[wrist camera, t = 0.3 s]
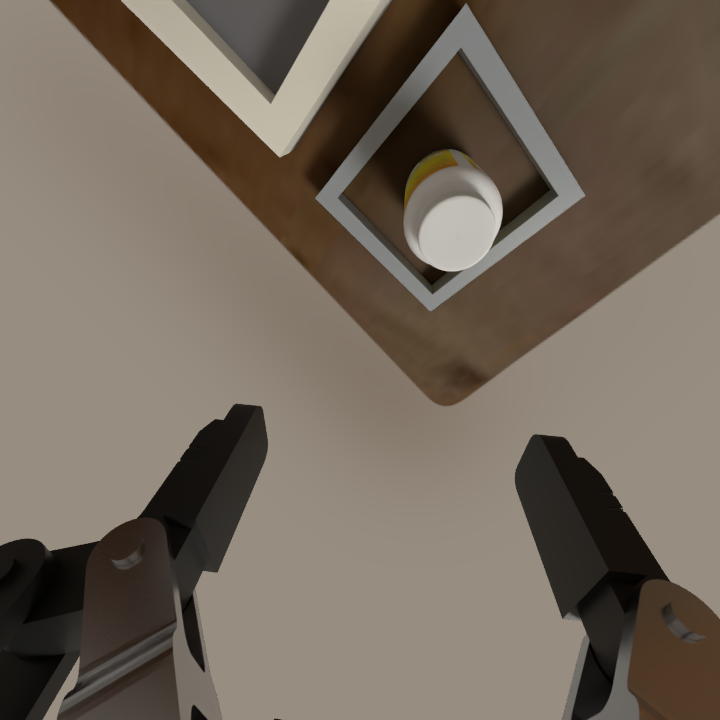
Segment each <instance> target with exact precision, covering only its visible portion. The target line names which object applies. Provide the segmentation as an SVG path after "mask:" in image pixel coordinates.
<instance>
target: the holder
mask: <svg viewBox="0 0 720 720" xmlns="http://www.w3.org/2000/svg"><path fill="white" fill-rule="evenodd" d="M121 1H122V2H123V3H124V4H125V5H126V6H127V7H128V8H129V9H130V10H131V11H132V12H133V13H134V14H135V15H136V16H137V17H138V18H139V19H140V20H141V21H142V22H143V23H144V24H145V25H146V26H147V27H148V28H149V29H150V30H151V31H152V32H153V33H154V34H155V35H156V36H157V37H159V38H160V39H161V40H162V41H163V42H164V43H165V44H166V45H167V46H168V47H169V48H170V49H171V50H172V51H173V52H174V53H175V54H176V55H177V56H178V57H179V58H180V59H181V60H182V61H183V62H184V63H185V64H186V65H187V66H188V67H189V68H190V69H191V70H192V71H193V72H194V73H195V74H196V75H197V76H198V77H199V78H200V79H201V80H202V81H203V82H204V83H205V84H206V85H207V86H208V87H209V88H210V89H211V90H212V91H213V92H214V93H215V94H216V95H217V96H218V97H219V98H220V99H221V100H222V101H223V102H224V103H225V104H226V105H227V106H228V107H229V108H230V109H231V110H232V111H233V112H234V113H235V114H236V115H237V116H238V117H239V118H240V119H241V120H242V121H243V122H244V123H245V124H246V125H247V126H248V127H249V128H250V129H251V130H252V131H253V132H254V133H255V134H256V135H257V136H258V137H259V138H260V139H261V140H262V141H263V142H265V143H266V144H267V145H268V146H269V147H270V148H271V149H272V150H273V151H274V152H275V153H276V154H277V155H278V156H279V157H281V156H284V155H286V154H288V153H290V152H292V151H293V149H294V148H295V146H296V145H297V143H298V142H299V140H300V139H301V137H302V136H303V134H304V133H305V131H306V130H307V128H308V127H309V125H310V124H311V122H312V121H313V119H314V118H315V116H316V114H317V113H318V111H319V110H320V108H321V107H322V105H323V104H324V102H325V101H326V99H327V98H328V96H329V95H330V93H331V92H332V90H333V89H334V87H335V86H336V84H337V83H338V81H339V80H340V78H341V77H342V75H343V74H344V72H345V71H346V69H347V68H348V66H349V64H350V63H351V61H352V60H353V58H354V57H355V55H356V54H357V52H358V51H359V49H360V48H361V46H362V45H363V43H364V42H365V40H366V39H367V37H368V36H369V34H370V33H371V31H372V30H373V28H374V27H375V25H376V24H377V22H378V21H379V19H380V18H381V16H382V14H383V13H384V11H385V10H386V8H387V7H388V5H389V4H390V2H391V1H392V0H121Z"/></svg>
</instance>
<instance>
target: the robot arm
mask: <svg viewBox="0 0 720 720" xmlns="http://www.w3.org/2000/svg"><path fill="white" fill-rule="evenodd" d="M267 449H268V439H267V433H266V426H265V420H264V414H263V409H262V407H261V406H253V405H244V404H235V405H233V407H232V408H231V410H230V411H229V413H228V414H227V416H226V417H225V419H224V420H218V419H215V420H214V421H212V422H211V423H210V424H208V425H207V426H206V427H204V428H203V429H202V430H200V431H199V433H198V434H197V436H196V437H195V439H194V440H193V442H192V443H191V444H190V446H189V449H187V450H186V451H185V453H184V454H183V455H182V457H181V458H180V459H181V460H180V462H178V463H177V464H176V466H175V467H174V468H173V470H172V471H171V473H170V474H169V476H168V477H167V478H166V480H165V481H164V483H163V484H162V486H161V487H160V488H159V490H158V491H157V492H156V494H155V495H154V497H153V498H152V500H151V501H150V502H149V504H148V505H147V507H146V508H145V510H144V511H143V512H142V513H141V515H140V516H139V517H138V518H137V519H134V520H131V521H128V522H125V523H123V524H121V525H119V526H118V527H116V528H114V529H113V530H112V531H110V532H109V533H108V534H107V535H106V536H104V537H103V538H102V539H101V541H97V542H93V543H88V544H84V545H78V546H74V547H68V548H63V549H58V550H53V551H49V550H48V549H47V548H46V547H45V546H44V545H43V544H42V543H41V542H40V541H38V540H35V539H20V540H15V541H12V542H9V543H6V544H4V545H2V546H0V720H42V719H43V718H44V716H45V714H46V713H47V711H48V709H49V707H50V706H51V704H52V702H53V701H54V699H55V697H56V695H57V693H58V692H59V690H60V689H61V687H62V685H63V683H64V682H65V680H66V678H67V676H68V675H69V673H70V671H71V670H72V668H73V666H74V664H75V663H76V661H77V659H78V657H79V656H80V664H79V675H78V679H77V683H76V686H75V687H74V689H73V690H71V691H70V692H69V693H67V695H66V696H65V697H64V699H63V701H62V704H61V706H60V709H59V713H58V716H57V720H222V715H221V711H220V706H219V702H218V698H217V694H216V691H215V688H214V685H213V682H212V678H211V674H210V669H209V664H208V658H207V653H206V647H205V641H204V636H203V630H202V624H201V619H200V613H199V607H198V601H197V596H196V590H195V586H196V584H197V582H198V580H199V578H200V576H201V574H202V571H209V572H218V570H219V567H220V565H221V563H222V560H223V558H224V556H225V553H226V551H227V549H228V546H229V544H230V542H231V539H232V537H233V535H234V532H235V530H236V528H237V525H238V523H239V520H240V518H241V516H242V513H243V511H244V509H245V506H246V504H247V502H248V499H249V497H250V495H251V492H252V490H253V488H254V485H255V483H256V480H257V478H258V476H259V473H260V471H261V468H262V466H263V464H264V461H265V458H266V454H267ZM515 485H516V489H517V492H518V495H519V498H520V501H521V503H522V506H523V509H524V512H525V515H526V518H527V520H528V523H529V526H530V529H531V531H532V535H533V537H534V540H535V543H536V546H537V549H538V551H539V554H540V557H541V560H542V563H543V565H544V568H545V571H546V574H547V576H548V579H549V582H550V585H551V588H552V591H553V593H554V596H555V599H556V602H557V605H558V607H559V610H560V613H561V616H562V618H563V619H568V620H576V621H582V623H583V625H584V627H585V630H586V633H587V634H586V635H585V637H584V638H583V641H582V644H581V648H580V652H579V656H578V660H577V664H576V668H575V671H574V675H573V679H572V683H571V686H570V690H569V694H568V698H567V702H566V706H565V710H564V713H563V717H562V720H720V619H719V618H718V616H717V615H716V614H715V613H714V612H713V611H712V610H711V609H710V608H709V607H708V606H707V605H706V604H705V603H704V602H703V601H701V600H700V599H699V598H698V597H696V596H695V595H694V594H692V593H691V592H689V591H688V590H686V589H684V588H682V587H681V586H679V585H677V584H674V583H672V582H670V580H669V579H668V577H667V576H666V575H665V573H664V572H663V570H662V569H661V567H660V565H659V564H658V562H657V561H656V559H655V558H654V556H653V555H652V553H651V551H650V550H649V548H648V546H647V545H646V543H645V542H644V540H643V539H642V537H641V535H639V532H638V531H637V529H636V528H635V526H634V525H633V523H632V521H631V520H630V518H629V517H628V515H627V514H626V512H623V507H622V506H621V504H620V503H619V501H618V499H617V498H616V497H615V496H613V492H612V490H611V489H610V487H609V485H608V484H607V482H606V481H605V479H604V477H603V476H602V474H601V473H599V472H598V471H597V470H596V469H595V468H594V467H593V466H592V465H591V464H590V463H589V462H588V461H587V460H585V458H579V457H577V455H576V454H575V452H574V450H573V449H572V447H571V445H570V444H569V442H568V441H567V440H566V439H565V438H564V437H556V436H547V435H537V434H535V435H533V436H532V437H531V439H530V441H529V443H528V445H527V447H526V449H525V451H524V453H523V455H522V457H521V460H520V462H519V464H518V466H517V468H516V472H515ZM274 720H280V719H274Z"/></svg>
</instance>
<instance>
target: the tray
mask: <svg viewBox="0 0 720 720" xmlns="http://www.w3.org/2000/svg"><path fill="white" fill-rule="evenodd" d="M457 52H459V53H460V55H461V56H462V58H463V59H464V61H465V62H466V64H467V65H468V67H469V68H470V70H471V71H472V73H473V74H474V76H475V77H476V79H477V80H478V82H479V83H480V85H481V86H482V88H483V89H484V91H485V92H486V94H487V95H488V97H489V98H490V100H491V102H492V103H493V105H494V106H495V108H496V109H497V111H498V112H499V114H500V115H501V117H502V118H503V120H504V121H505V123H506V124H507V126H508V127H509V129H510V130H511V132H512V133H513V135H514V136H515V138H516V139H517V141H518V142H519V144H520V145H521V147H522V148H523V150H524V151H525V153H526V154H527V156H528V157H529V159H530V160H531V162H532V163H533V165H534V166H535V168H536V169H537V171H538V172H539V174H540V175H541V177H542V178H543V180H544V181H545V183H546V184H547V186H548V187H549V189H550V191H548V192H547V193H546V194H545V195H543V196H542V197H541V198H540V199H538V200H537V201H536V202H535V203H533V204H532V205H531V206H530V207H528V208H527V209H526V210H525V211H523V212H522V213H521V214H520V215H518V216H517V217H516V218H515V219H513V220H512V221H511V222H510V223H508V224H507V225H506V226H505V227H503V228H502V229H501V230H500V231H498V233H497V235H496V237H495V239H494V241H493V244H492V246H491V248H490V249H489V251H488V252H487V254H486V255H485V256H484V257H483V258H482V259H481V260H480V261H479V262H477V263H476V264H474V265H473V266H471V267H469V268H467V269H464V270H460V271H449V272H447V273H446V274H445V275H444V276H442V277H441V278H440V279H439V280H437V281H436V282H435V283H434V284H432V285H431V284H430V283H429V282H428V281H427V280H426V279H425V278H424V277H423V276H422V275H421V274H420V273H419V272H418V271H417V270H416V269H415V268H414V267H413V266H412V265H411V264H410V263H409V262H408V261H407V260H406V258H405V257H404V256H403V255H402V254H401V253H400V252H399V251H398V250H397V249H396V248H395V247H394V246H393V245H392V244H391V243H390V242H389V241H388V240H387V239H386V238H385V237H384V236H383V235H382V234H381V233H380V232H379V231H378V230H377V229H376V228H375V227H374V226H373V224H372V223H371V222H370V221H369V220H368V219H367V218H366V217H365V216H364V215H363V214H362V213H361V212H360V211H359V210H358V209H357V208H356V207H355V206H354V205H353V204H352V203H351V202H350V201H349V200H348V199H347V198H346V197H345V196H344V195H343V194H342V192H343V191H344V189H345V188H346V187H347V186H348V185H349V183H350V182H351V181H352V180H353V178H354V177H355V176H356V175H357V174H358V172H359V171H360V170H361V169H362V167H363V166H364V165H365V164H366V163H367V161H368V160H369V159H370V158H371V157H372V155H373V154H374V153H375V152H376V150H377V149H378V148H379V147H380V146H381V144H382V143H383V142H384V141H385V139H386V138H387V137H388V136H389V135H390V133H391V132H392V131H393V130H394V128H395V127H396V126H397V125H398V124H399V122H400V121H401V120H402V119H403V117H404V116H405V115H406V114H407V113H408V111H409V110H410V109H411V108H412V107H413V105H414V104H415V103H416V102H417V100H418V99H419V98H420V97H421V96H422V94H423V93H424V92H425V91H426V89H427V88H428V87H429V86H430V85H431V83H432V82H433V81H434V80H435V78H436V77H437V76H438V75H439V74H440V72H441V71H442V70H443V69H444V67H445V66H446V65H447V64H448V63H449V61H450V60H451V59H452V58H453V57H454V55H455V54H456V53H457ZM584 196H585V194H584V193H583V191H582V190H581V188H580V186H579V185H578V183H577V181H576V180H575V178H574V177H573V175H572V173H571V172H570V170H569V169H568V167H567V165H566V164H565V162H564V160H563V159H562V157H561V156H560V154H559V152H558V151H557V149H556V148H555V146H554V144H553V143H552V141H551V139H550V138H549V136H548V135H547V133H546V131H545V130H544V128H543V127H542V125H541V123H540V122H539V120H538V118H537V117H536V115H535V114H534V112H533V110H532V109H531V107H530V106H529V104H528V102H527V101H526V99H525V98H524V96H523V94H522V93H521V91H520V89H519V88H518V86H517V85H516V83H515V81H514V80H513V78H512V77H511V75H510V73H509V72H508V70H507V68H506V67H505V65H504V64H503V62H502V60H501V59H500V57H499V56H498V54H497V52H496V51H495V49H494V47H493V46H492V44H491V43H490V41H489V39H488V38H487V36H486V35H485V33H484V31H483V30H482V28H481V26H480V25H479V23H478V22H477V20H476V18H475V17H474V15H473V14H472V12H471V10H470V9H469V7H468V5H467V4H465V5H464V7H463V8H462V9H461V11H460V12H459V13H458V15H457V16H456V17H455V18H454V20H453V21H452V22H451V24H450V25H449V26H448V27H447V29H446V30H445V31H444V33H443V34H442V35H441V36H440V38H439V39H438V40H437V42H436V43H435V44H434V46H433V47H432V48H431V49H430V51H429V52H428V53H427V55H426V56H425V57H424V58H423V60H422V61H421V62H420V64H419V65H418V66H417V68H416V69H415V70H414V71H413V73H412V74H411V75H410V77H409V78H408V79H407V80H406V82H405V83H404V84H403V86H402V87H401V88H400V89H399V91H398V92H397V93H396V95H395V96H394V97H393V99H392V100H391V101H390V102H389V104H388V105H387V106H386V108H385V109H384V110H383V111H382V113H381V114H380V115H379V117H378V118H377V119H376V120H375V122H374V123H373V124H372V126H371V127H370V128H369V130H368V131H367V132H366V133H365V135H364V136H363V137H362V139H361V140H360V141H359V142H358V144H357V145H356V146H355V148H354V149H353V150H352V152H351V153H350V154H349V155H348V157H347V158H346V159H345V161H344V162H343V163H342V164H341V166H340V167H339V168H338V170H337V171H336V172H335V173H334V175H333V176H332V177H331V179H330V180H329V181H328V183H327V184H326V185H325V186H324V188H323V189H322V190H321V192H320V193H319V194H318V195H317V197H316V198H315V199H316V200H317V201H319V202H320V203H321V204H322V205H323V206H324V207H325V208H326V209H327V210H328V211H329V212H330V213H331V214H332V215H333V216H334V217H335V218H336V219H337V220H338V221H339V222H340V223H341V224H342V225H343V226H344V227H345V228H346V229H347V230H348V231H349V232H350V233H351V234H352V235H353V236H354V237H355V238H356V239H357V240H358V241H359V242H360V243H361V244H362V245H363V246H364V247H365V248H366V249H367V250H368V251H369V252H370V253H371V254H372V255H373V256H374V257H376V258H377V259H378V260H379V261H380V262H381V263H382V264H383V265H384V266H385V267H386V268H387V269H388V270H389V271H390V272H391V273H392V274H393V275H394V276H395V277H396V278H397V279H398V280H399V281H400V282H401V283H402V284H403V285H404V286H405V287H406V288H407V289H408V290H409V291H410V292H411V293H412V294H413V295H414V296H415V297H416V298H417V299H418V300H419V301H420V302H421V303H422V304H423V305H424V306H425V307H426V308H427V309H428V310H429V311H430V312H431V311H432V310H433V309H435V308H436V307H437V306H439V305H440V304H441V303H443V302H444V301H445V300H447V299H448V298H449V297H451V296H452V295H453V294H455V293H456V292H457V291H459V290H460V289H461V288H463V287H464V286H465V285H467V284H468V283H469V282H471V281H472V280H473V279H475V278H476V277H477V276H479V275H480V274H481V273H483V272H484V271H485V270H487V269H488V268H489V267H491V266H492V265H493V264H495V263H496V262H497V261H499V260H500V259H501V258H503V257H504V256H505V255H507V254H508V253H509V252H511V251H512V250H513V249H515V248H516V247H517V246H519V245H520V244H521V243H523V242H524V241H525V240H527V239H528V238H529V237H531V236H532V235H533V234H535V233H536V232H537V231H539V230H540V229H541V228H543V227H544V226H545V225H547V224H548V223H549V222H551V221H552V220H553V219H555V218H556V217H557V216H559V215H560V214H561V213H563V212H564V211H565V210H567V209H568V208H569V207H571V206H572V205H573V204H575V203H576V202H577V201H579V200H580V199H581V198H583V197H584Z"/></svg>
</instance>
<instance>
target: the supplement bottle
mask: <svg viewBox="0 0 720 720" xmlns="http://www.w3.org/2000/svg"><path fill="white" fill-rule="evenodd" d="M502 215H503V208H502V200H501V196H500V193H499V191H498V189H497V187H496V185H495V184H494V182H493V181H492V180H491V179H490V178H489V177H488V175H487V174H486V173H485V172H484V171H483V170H482V169H481V168H480V167H479V166H478V165H477V164H476V163H475V162H474V161H473V160H472V159H471V158H470V157H469V156H467V155H466V154H464V153H462V152H460V151H457V150H452V149H444V150H439V151H436V152H433V153H431V154H429V155H427V156H426V157H424V158H423V159H422V160H421V161H420V162H419V163H418V164H417V165H416V166H415V167H414V169H413V170H412V172H411V174H410V176H409V178H408V181H407V184H406V189H405V202H404V233H405V237H406V240H407V243H408V245H409V247H410V248H411V250H412V251H413V253H414V254H415V255H416V256H417V257H418V258H419V259H421V260H422V261H424V262H426V263H427V264H430V265H432V266H433V267H435V268H437V269H440V270H443V271H460V270H464V269H467V268H469V267H471V266H473V265H474V264H476V263H477V262H479V261H480V260H481V259H482V258H483V257H484V256H485V255H486V254H487V252H488V251H489V249H490V248H491V246H492V244H493V241H494V239H495V237H496V235H497V233H498V231H499V228H500V225H501V221H502Z"/></svg>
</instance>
